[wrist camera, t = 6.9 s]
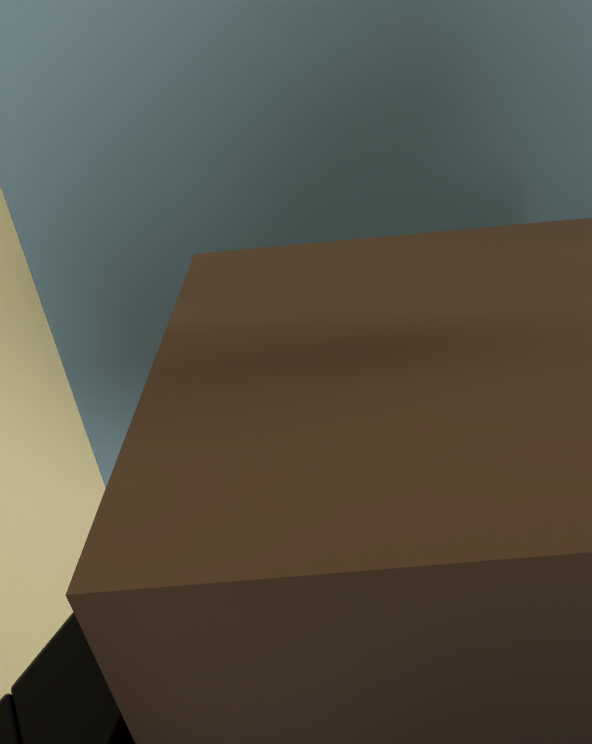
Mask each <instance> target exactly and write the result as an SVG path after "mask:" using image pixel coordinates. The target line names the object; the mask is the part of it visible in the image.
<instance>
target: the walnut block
mask: <svg viewBox="0 0 592 744" xmlns="http://www.w3.org/2000/svg"><path fill="white" fill-rule="evenodd" d="M66 597H67V599H68V601H69V603H70V605H71V607H72V609H73V612H74V614H75V616H76V618H77V620H78V622H79V624H80V627H81V629H82V631H83V633H84V635H85V637H86V639H87V641H88V644H89V646H90V648H91V650H92V652H93V654H94V656H95V659H96V661H97V663H98V665H99V667H100V669H101V671H102V674H103V676H104V678H105V680H106V682H107V684H108V686H109V689H110V691H111V693H112V695H113V697H114V699H115V701H116V703H117V706H118V708H119V710H120V712H121V714H122V716H123V718H124V721H125V723H126V725H127V727H128V729H129V731H130V733H131V736H132V738H133V740H134V742H135V744H592V218H583V219H572V220H561V221H550V222H539V223H528V224H517V225H505V226H494V227H483V228H472V229H461V230H450V231H439V232H428V233H417V234H406V235H395V236H384V237H373V238H362V239H351V240H340V241H329V242H318V243H307V244H296V245H285V246H274V247H263V248H252V249H241V250H230V251H219V252H208V253H197V254H194V256H193V258H192V261H191V264H190V266H189V269H188V272H187V274H186V277H185V280H184V282H183V285H182V288H181V290H180V293H179V295H178V298H177V301H176V303H175V306H174V309H173V311H172V314H171V317H170V319H169V322H168V325H167V327H166V330H165V333H164V335H163V338H162V341H161V343H160V346H159V349H158V351H157V354H156V357H155V359H154V362H153V365H152V367H151V370H150V373H149V375H148V378H147V380H146V383H145V386H144V388H143V391H142V394H141V396H140V399H139V402H138V404H137V407H136V410H135V412H134V415H133V418H132V420H131V423H130V426H129V428H128V431H127V434H126V436H125V439H124V442H123V444H122V447H121V450H120V452H119V455H118V457H117V460H116V463H115V465H114V468H113V471H112V473H111V476H110V479H109V481H108V484H107V487H106V489H105V492H104V495H103V497H102V500H101V503H100V505H99V508H98V511H97V513H96V516H95V519H94V521H93V524H92V527H91V529H90V532H89V535H88V537H87V540H86V542H85V545H84V548H83V550H82V553H81V556H80V558H79V561H78V564H77V566H76V569H75V572H74V574H73V577H72V580H71V582H70V585H69V588H68V590H67V593H66Z"/></svg>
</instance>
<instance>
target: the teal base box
mask: <svg viewBox="0 0 592 744" xmlns="http://www.w3.org/2000/svg"><path fill="white" fill-rule="evenodd" d="M0 185H1V188H2V191H3V194H4V197H5V200H6V203H7V205H8V208H9V211H10V214H11V217H12V220H13V223H14V226H15V228H16V231H17V234H18V237H19V240H20V243H21V246H22V249H23V251H24V254H25V257H26V260H27V263H28V266H29V269H30V272H31V274H32V277H33V280H34V283H35V286H36V289H37V292H38V295H39V297H40V300H41V303H42V306H43V309H44V312H45V315H46V318H47V321H48V323H49V326H50V329H51V332H52V335H53V338H54V341H55V344H56V346H57V349H58V352H59V355H60V358H61V361H62V364H63V367H64V369H65V372H66V375H67V378H68V381H69V384H70V387H71V390H72V392H73V395H74V398H75V401H76V404H77V407H78V410H79V413H80V415H81V418H82V421H83V424H84V427H85V430H86V433H87V436H88V438H89V441H90V444H91V447H92V450H93V453H94V456H95V459H96V461H97V464H98V467H99V470H100V473H101V476H102V479H103V482H104V484H105V487H107V484H108V481H109V479H110V476H111V473H112V471H113V468H114V465H115V463H116V460H117V457H118V455H119V452H120V450H121V447H122V444H123V442H124V439H125V436H126V434H127V431H128V428H129V426H130V423H131V420H132V418H133V415H134V412H135V410H136V407H137V404H138V402H139V399H140V396H141V394H142V391H143V388H144V386H145V383H146V380H147V378H148V375H149V373H150V370H151V367H152V365H153V362H154V359H155V357H156V354H157V351H158V349H159V346H160V343H161V341H162V338H163V335H164V333H165V330H166V327H167V325H168V322H169V319H170V317H171V314H172V311H173V309H174V306H175V303H176V301H177V298H178V295H179V293H180V290H181V288H182V285H183V282H184V280H185V277H186V274H187V272H188V269H189V266H190V264H191V261H192V258H193V256H194V254H197V253H208V252H219V251H230V250H241V249H252V248H263V247H274V246H285V245H296V244H307V243H318V242H329V241H340V240H351V239H362V238H373V237H384V236H395V235H406V234H417V233H428V232H439V231H450V230H461V229H472V228H483V227H494V226H505V225H517V224H528V223H539V222H550V221H561V220H572V219H583V218H592V0H0Z"/></svg>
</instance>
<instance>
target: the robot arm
mask: <svg viewBox="0 0 592 744" xmlns="http://www.w3.org/2000/svg"><path fill="white" fill-rule="evenodd" d="M11 693H12V695H11V694H5V695H4V696H3V697H2V698H1V700H0V744H135V742H134V740H133V738H132V736H131V733H130V731H129V729H128V727H127V725H126V723H125V721H124V718H123V716H122V714H121V712H120V710H119V708H118V706H117V703H116V701H115V699H114V697H113V695H112V693H111V691H110V689H109V686H108V684H107V682H106V680H105V678H104V676H103V674H102V671H101V669H100V667H99V665H98V663H97V661H96V659H95V656H94V654H93V652H92V650H91V648H90V646H89V644H88V641H87V639H86V637H85V635H84V633H83V631H82V629H81V627H80V624H79V622H78V620H77V618H76V616H75V614H74V612H73V613H72V614H71V615H70V617H69V618H68V619H67V620H66V621H65V623H64V624H63V625H62V626H61V628H60V629H59V630H58V631H57V632H56V634H55V635H54V636H53V637H52V638H51V640H50V641H49V642H48V643H47V644H46V646H45V647H44V648H43V649H42V651H41V652H40V653H39V654H38V655H37V657H36V658H35V659H34V660H33V661H32V663H31V664H30V665H29V666H28V667H27V669H26V670H25V671H24V672H23V673H22V675H21V676H20V677H19V678H18V680H17V681H16V682H15V683H14V684H13V686H12V687H11Z"/></svg>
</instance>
